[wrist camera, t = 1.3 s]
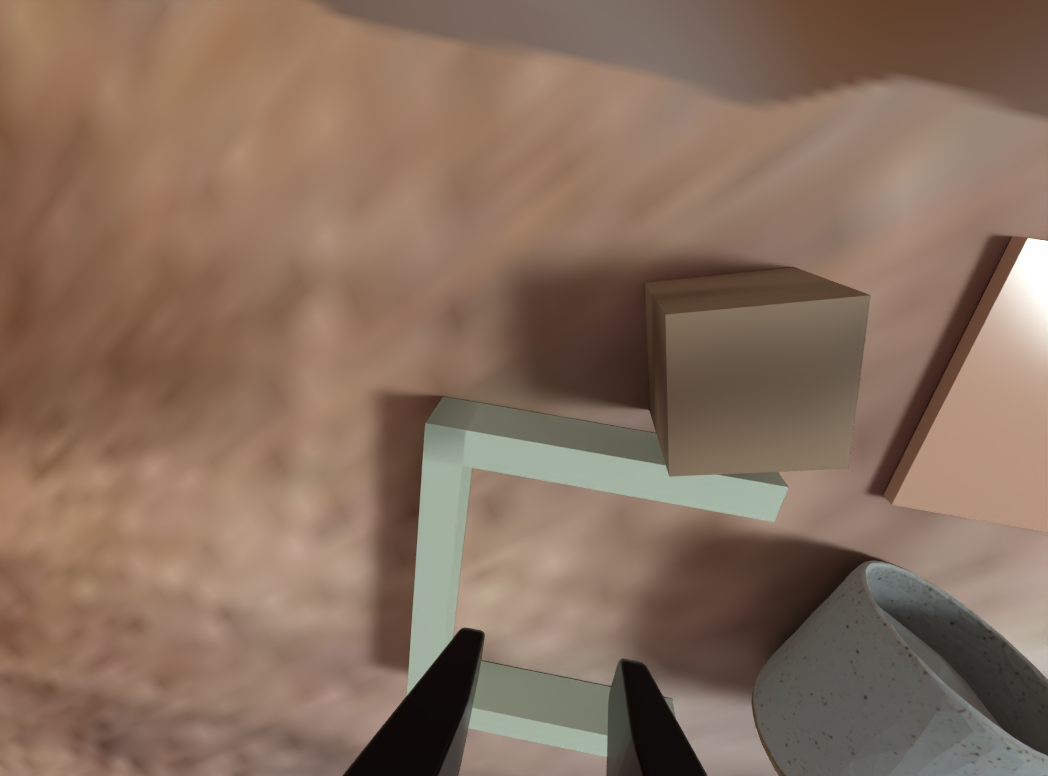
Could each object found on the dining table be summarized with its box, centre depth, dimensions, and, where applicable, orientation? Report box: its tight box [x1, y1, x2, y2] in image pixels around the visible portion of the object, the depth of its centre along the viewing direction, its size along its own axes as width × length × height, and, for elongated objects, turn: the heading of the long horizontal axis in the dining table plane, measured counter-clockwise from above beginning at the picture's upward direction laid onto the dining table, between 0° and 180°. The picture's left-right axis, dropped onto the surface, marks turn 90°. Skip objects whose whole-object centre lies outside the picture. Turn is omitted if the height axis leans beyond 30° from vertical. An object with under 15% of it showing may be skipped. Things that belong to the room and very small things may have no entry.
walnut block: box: [645, 267, 871, 477], centre depth 16 cm, size 5×5×5 cm
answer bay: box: [407, 397, 788, 757], centre depth 22 cm, size 16×13×2 cm
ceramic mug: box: [752, 560, 1048, 776], centre depth 19 cm, size 11×8×8 cm
